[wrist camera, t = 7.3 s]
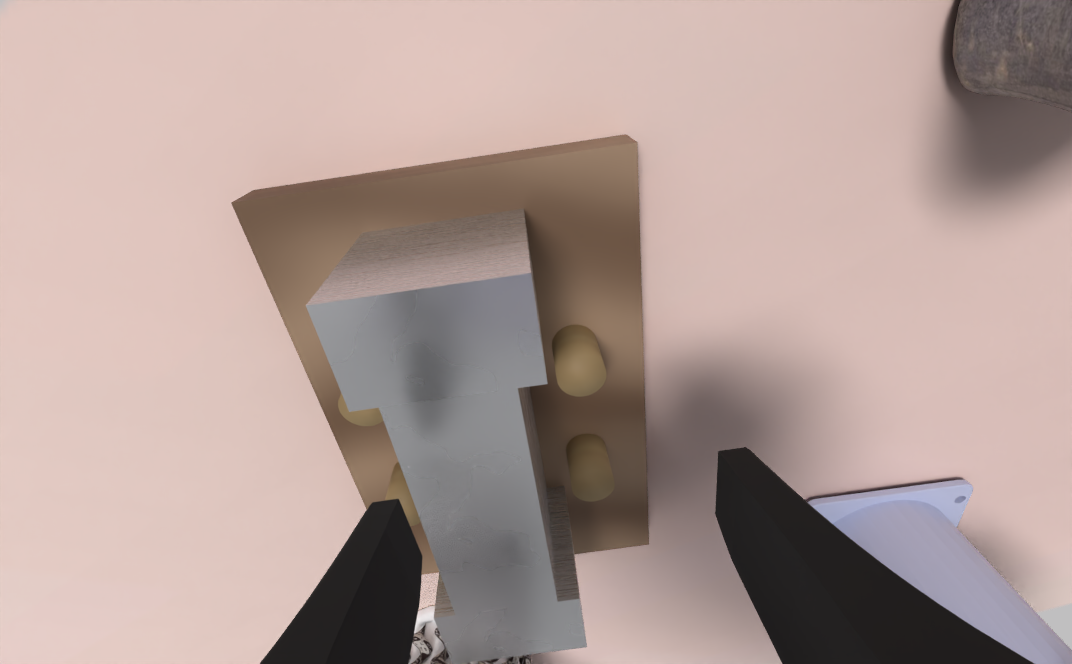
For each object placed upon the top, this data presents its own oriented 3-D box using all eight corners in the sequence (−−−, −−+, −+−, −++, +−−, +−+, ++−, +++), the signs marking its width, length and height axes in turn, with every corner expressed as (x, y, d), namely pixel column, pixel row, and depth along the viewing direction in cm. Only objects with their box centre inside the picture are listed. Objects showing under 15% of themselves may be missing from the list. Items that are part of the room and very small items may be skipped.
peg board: (641, 518, 25) (660, 584, 22) (402, 550, 25) (388, 619, 22) (626, 134, 16) (655, 155, 13) (253, 190, 16) (194, 223, 13)
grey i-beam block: (571, 532, 23) (586, 646, 18) (462, 546, 23) (452, 664, 18) (523, 208, 15) (530, 273, 11) (362, 232, 15) (305, 305, 11)
